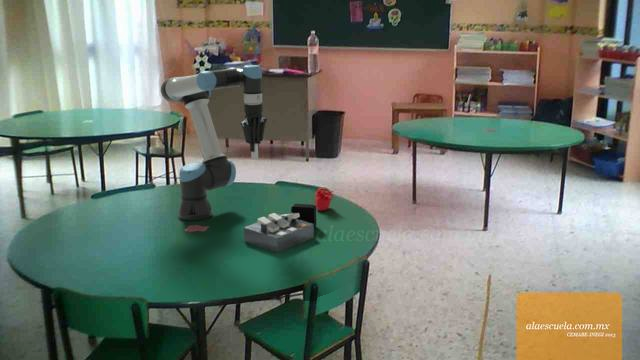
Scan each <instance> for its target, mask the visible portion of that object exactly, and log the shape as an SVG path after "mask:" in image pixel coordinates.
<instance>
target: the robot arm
mask: <svg viewBox="0 0 640 360" xmlns="http://www.w3.org/2000/svg"><path fill="white" fill-rule="evenodd" d="M235 87H237V88H238V87H239V88H243V103H244V104H243V108H244V109H243V110H244V114H245V116H244V120H243V121H240V125H241V128H242V130H243V134H244V139H245V143H246V144H249V151H250V152H251V153H250V155H251V159H252V160H259V150H260V144H261V143H262V142H263V139H264V132H265V127H266V126H265V125H266V124H267V123H266V122H267V120H268V118H267V117H263V74H262V66H260V65H258V64H246V65H244V66H243V67H242V68H240V67H229V68H227V69H216V70H205V71H201V72H199V73H197V74H193V75H192V74H191V75H186V76H184V75H183V76H174V77H170V78H168V79H166V80H164V81H163V82H162V84H161V86H160V93H161V96H162V98H163V99H164V100H166V101H167V102H170V103H173V104H174V103H175V104H176V103H177V104H178V103H179V104H180V103H183V104H184V107H185V109H187V110H189V114H190V117H191V120H192V123H193V126H194V129H195V133H196V137H197V139H198V143H199V147H200V149H201V152H202V155H203V156H202V157H203V160H202V162H192V163H188V164H185V165H183V166H182V167H181V168H180V169H179V174H178V175H179V176H178V179H179V187H180V203H179V208H178V211H177V212H178V213H177V216H178V218H179V219H180V220H184V221H201V220H205V219H208V218H210V217H212V215H213V208H212V206H211V203H210V201H209V198H208V191H212V190H216V189H220V188H225V187H227V186H230V185H232V184H233V183H234V182H235V179H236V176H237V169H236V165H235V163H234V162H233V161H232V159H231V160H230V159H228V157H227V155H226V154H224V153H223V151H222V148H221V146H220V142H219V138H218V136H217V132H216V129H215V125H214V123H213V120H212V116H211V112H210V110H209V106H208V105H209V102H210V98H211V95H212V90H213V91H214V90H220V89H229V88H235Z"/></svg>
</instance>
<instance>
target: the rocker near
mask: <svg viewBox="0 0 640 360" xmlns="http://www.w3.org/2000/svg"><path fill="white" fill-rule="evenodd" d="M257 222H258V223H259V224H262V223H263V224H266V227H267V229H268V230H269V231H271V232H272V233H273V232H275V231H278V230H279V226H278V225H276V224H275V223H273V222H271V221H270V220H268V217H265V216H262V217H261V216H260V217H258V218H257ZM257 222H256V223H257Z"/></svg>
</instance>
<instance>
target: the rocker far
mask: <svg viewBox="0 0 640 360" xmlns="http://www.w3.org/2000/svg"><path fill="white" fill-rule="evenodd" d="M283 215H284V216H287V217H288V219H295V218H298V217H300V215H299V213H292V214H290V213H287V214H286V213H284V214H282V215H281V216H283ZM281 216H280V217H281Z"/></svg>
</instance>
